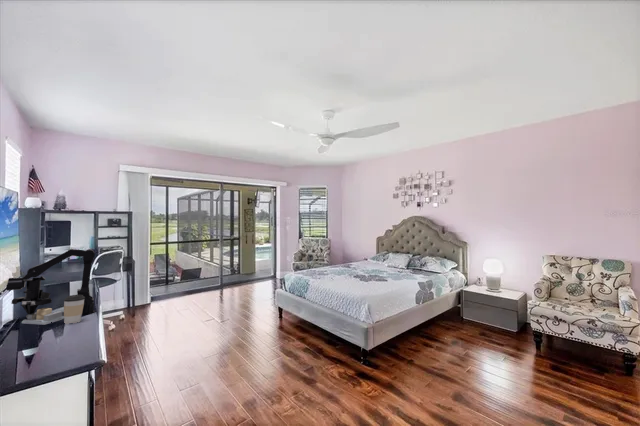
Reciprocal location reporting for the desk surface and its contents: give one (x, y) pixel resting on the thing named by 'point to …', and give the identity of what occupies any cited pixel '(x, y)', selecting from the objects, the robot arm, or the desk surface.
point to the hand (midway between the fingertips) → (30, 316)
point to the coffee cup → (73, 308)
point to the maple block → (43, 313)
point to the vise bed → (46, 319)
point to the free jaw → (31, 316)
